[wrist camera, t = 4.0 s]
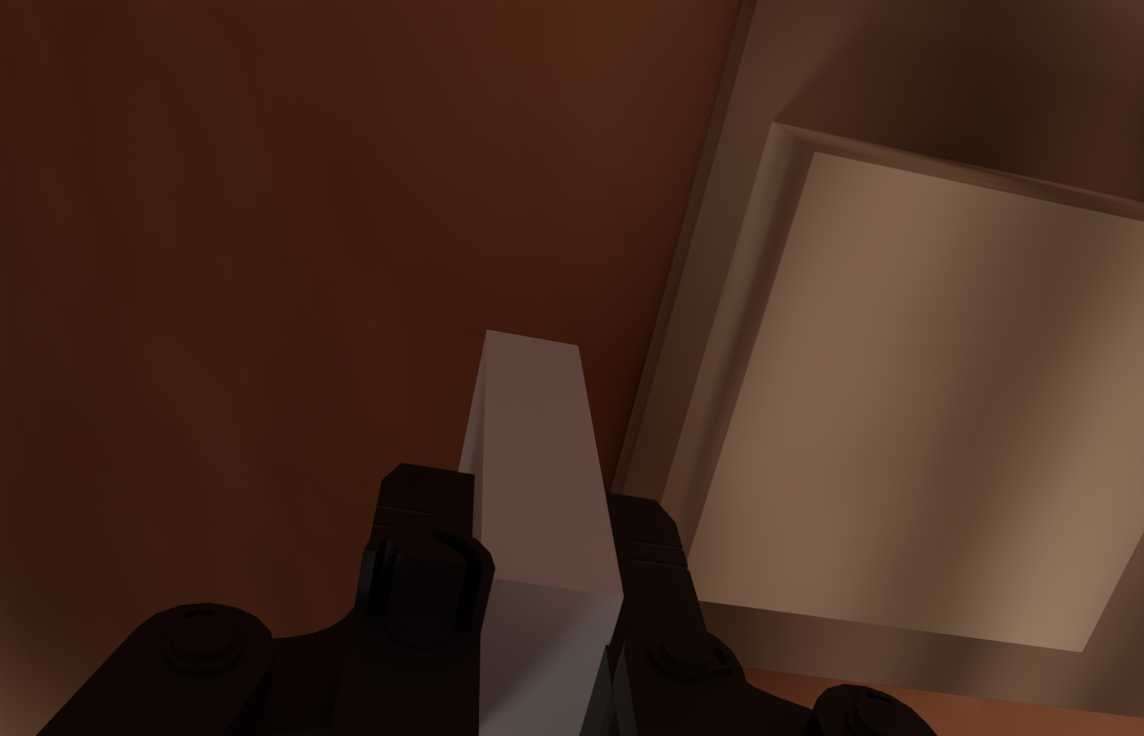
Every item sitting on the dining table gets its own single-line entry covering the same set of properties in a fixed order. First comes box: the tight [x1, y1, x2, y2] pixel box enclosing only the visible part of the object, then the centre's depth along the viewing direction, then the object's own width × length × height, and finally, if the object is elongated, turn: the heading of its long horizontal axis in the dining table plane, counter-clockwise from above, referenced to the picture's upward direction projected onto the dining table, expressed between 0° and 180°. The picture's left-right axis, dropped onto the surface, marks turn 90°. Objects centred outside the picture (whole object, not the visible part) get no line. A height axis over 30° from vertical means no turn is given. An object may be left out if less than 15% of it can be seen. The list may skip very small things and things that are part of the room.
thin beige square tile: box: [660, 122, 1144, 652], centre depth 23 cm, size 10×10×3 cm
